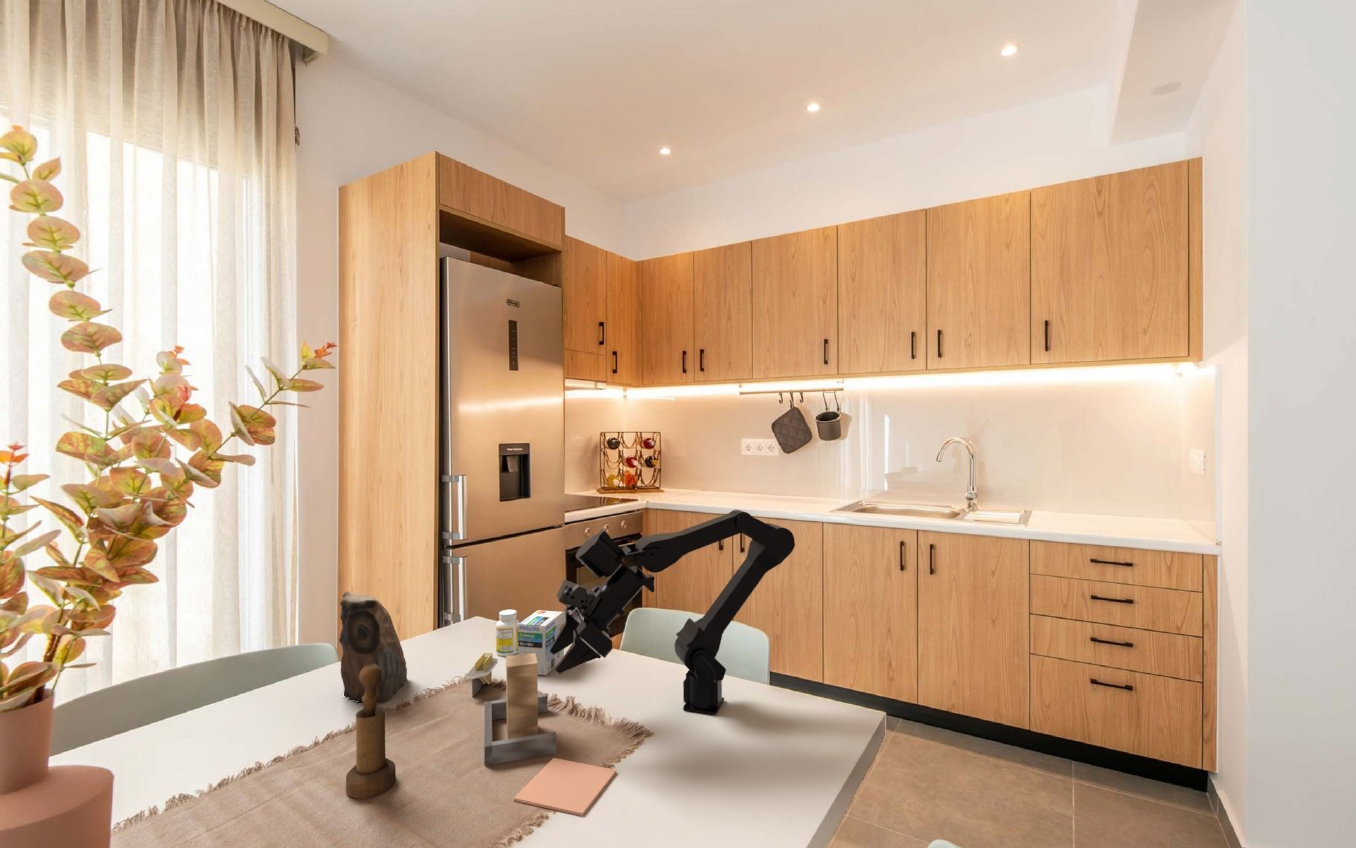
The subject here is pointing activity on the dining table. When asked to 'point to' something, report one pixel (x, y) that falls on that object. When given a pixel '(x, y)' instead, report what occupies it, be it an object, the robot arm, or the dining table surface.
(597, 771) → the mat
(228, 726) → the dining table surface
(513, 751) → the nook
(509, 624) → the supplement bottle
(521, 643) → the light bulb box
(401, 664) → the owl
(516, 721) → the block
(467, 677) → the platform
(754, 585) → the robot arm
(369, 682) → the mortar and pestle
